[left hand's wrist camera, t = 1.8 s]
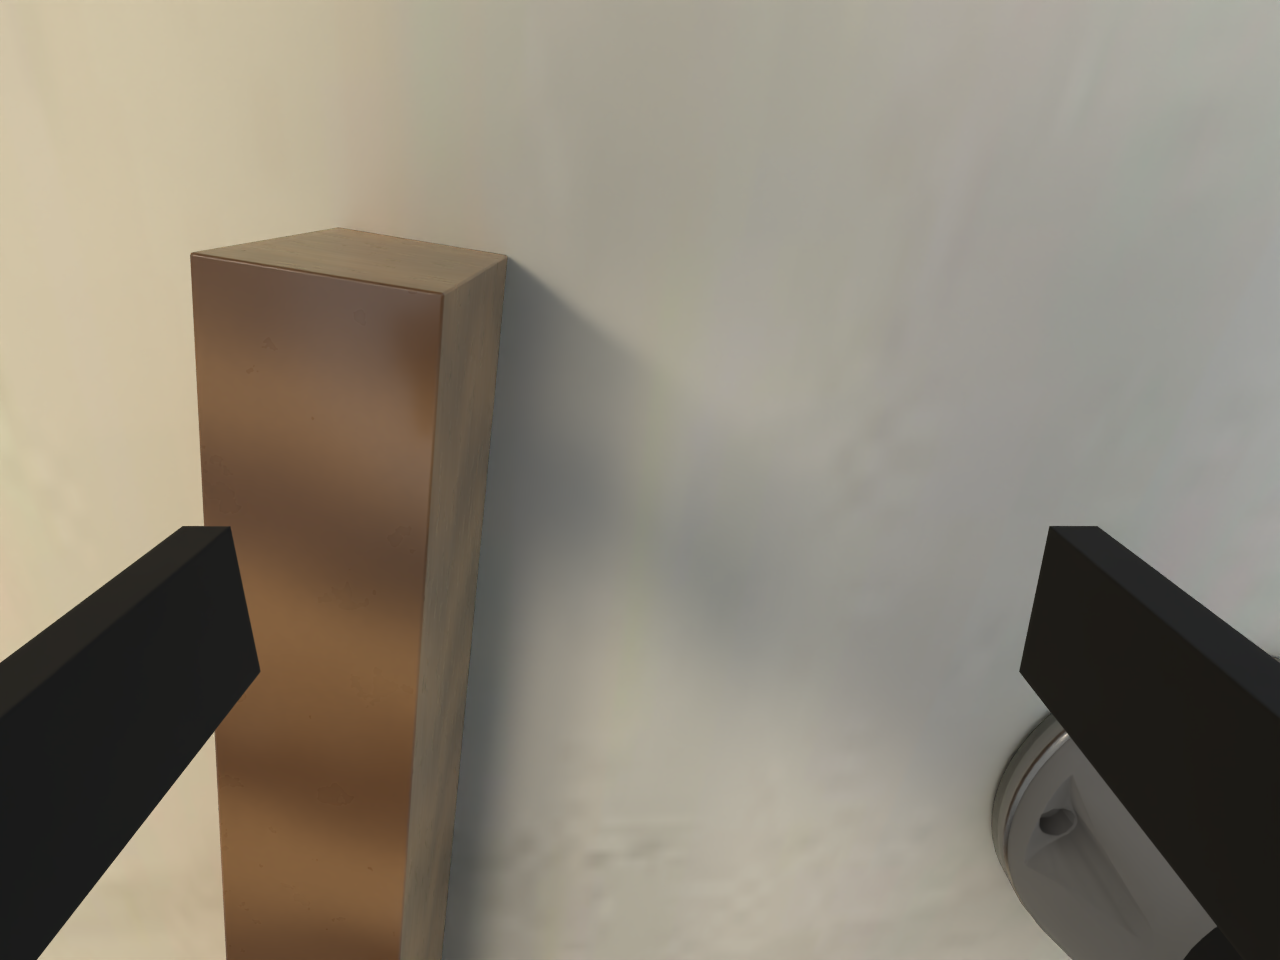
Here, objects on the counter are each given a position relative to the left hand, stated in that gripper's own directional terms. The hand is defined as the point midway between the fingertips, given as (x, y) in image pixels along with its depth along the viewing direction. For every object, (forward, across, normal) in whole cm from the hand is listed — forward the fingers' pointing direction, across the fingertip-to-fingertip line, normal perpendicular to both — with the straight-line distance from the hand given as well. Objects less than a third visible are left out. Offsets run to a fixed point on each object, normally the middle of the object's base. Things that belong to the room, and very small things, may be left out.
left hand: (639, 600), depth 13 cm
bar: (+15, -11, -22) cm, 29 cm away
